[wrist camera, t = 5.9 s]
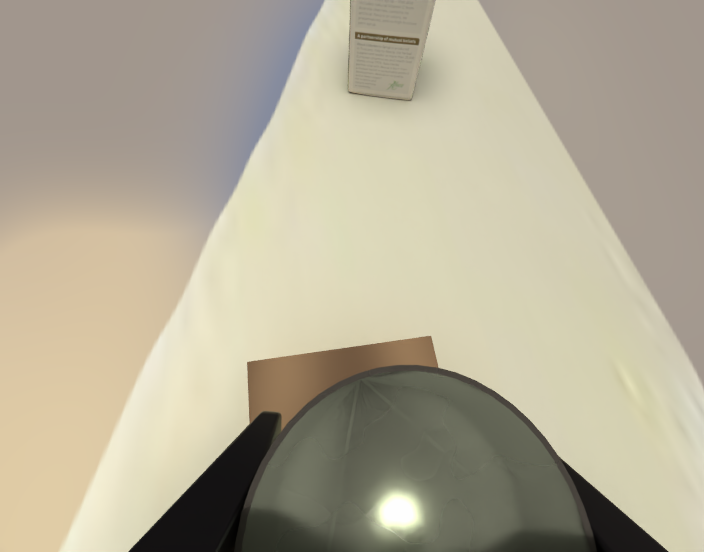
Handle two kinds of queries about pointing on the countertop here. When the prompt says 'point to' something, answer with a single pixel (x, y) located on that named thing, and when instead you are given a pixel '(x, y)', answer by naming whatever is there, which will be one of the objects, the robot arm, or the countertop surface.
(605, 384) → the countertop surface
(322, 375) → the walnut block
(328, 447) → the spice tin
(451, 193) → the countertop surface
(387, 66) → the syrup box
